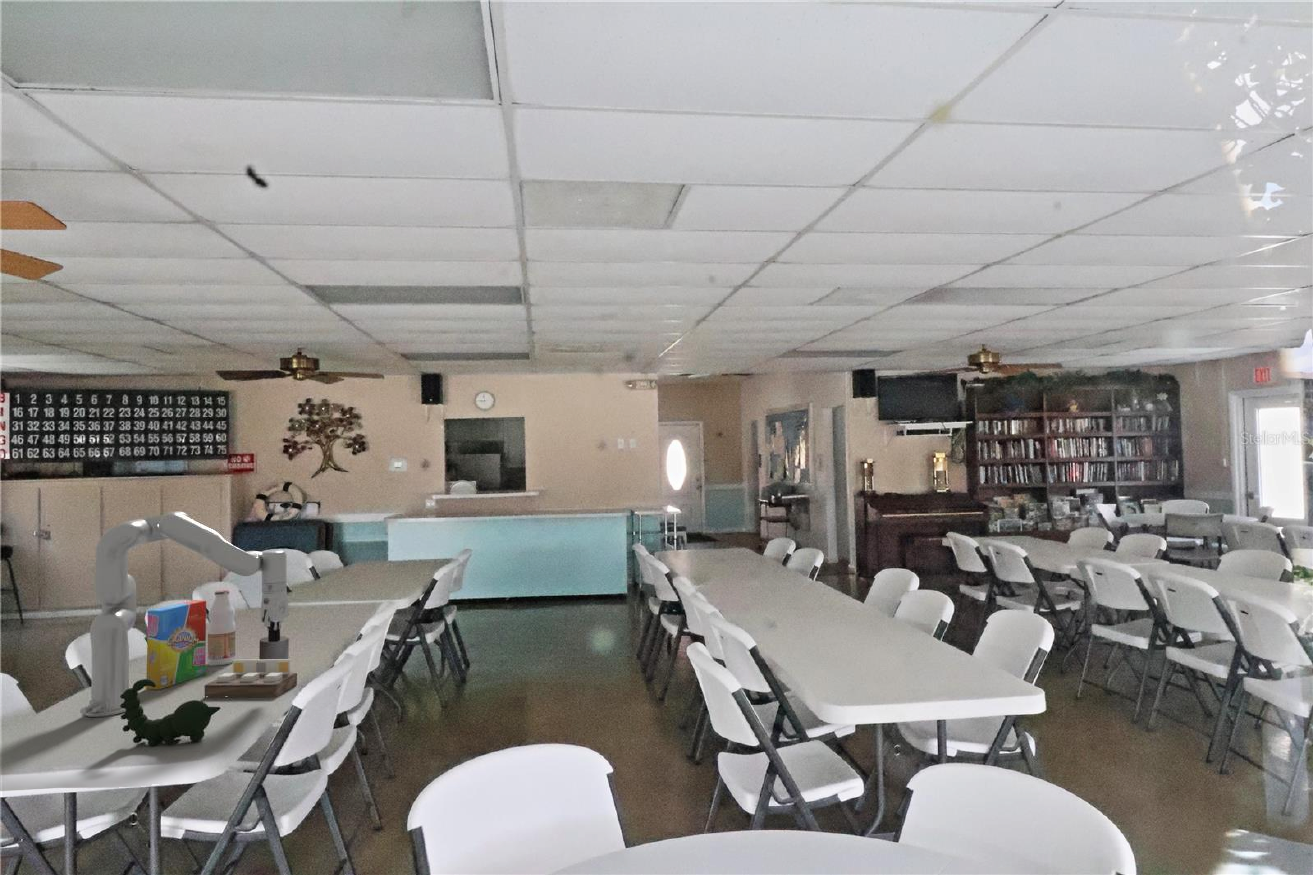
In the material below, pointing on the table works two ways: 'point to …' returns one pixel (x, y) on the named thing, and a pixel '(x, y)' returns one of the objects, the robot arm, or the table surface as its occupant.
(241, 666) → the card
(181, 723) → the toy figurine
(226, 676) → the left button
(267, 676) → the right button
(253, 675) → the middle button
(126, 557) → the robot arm
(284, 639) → the pillar candle
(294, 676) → the button board
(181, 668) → the game box
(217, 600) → the fruit juice
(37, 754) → the table surface
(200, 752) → the table surface
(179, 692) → the table surface
